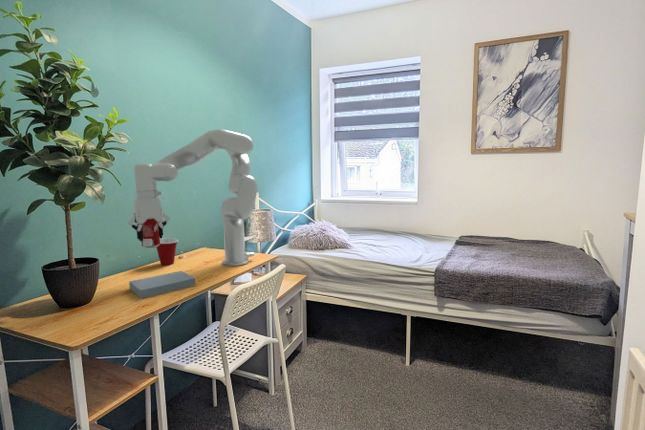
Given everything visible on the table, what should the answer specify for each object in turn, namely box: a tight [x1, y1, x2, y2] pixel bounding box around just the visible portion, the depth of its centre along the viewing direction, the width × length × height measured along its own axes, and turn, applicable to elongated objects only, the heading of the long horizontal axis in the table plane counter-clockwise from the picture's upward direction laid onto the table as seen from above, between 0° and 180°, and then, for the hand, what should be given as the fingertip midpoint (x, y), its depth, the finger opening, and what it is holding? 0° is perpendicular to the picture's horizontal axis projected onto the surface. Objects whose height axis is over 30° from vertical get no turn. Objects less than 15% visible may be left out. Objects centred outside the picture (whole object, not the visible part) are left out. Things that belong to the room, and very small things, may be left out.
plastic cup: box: [155, 237, 179, 266], centre depth 173 cm, size 11×11×12 cm
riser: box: [128, 270, 197, 299], centre depth 139 cm, size 20×14×3 cm
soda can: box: [140, 218, 160, 249], centre depth 145 cm, size 7×7×12 cm
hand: (150, 238), depth 145 cm, fingers closed on soda can, 6 cm apart
